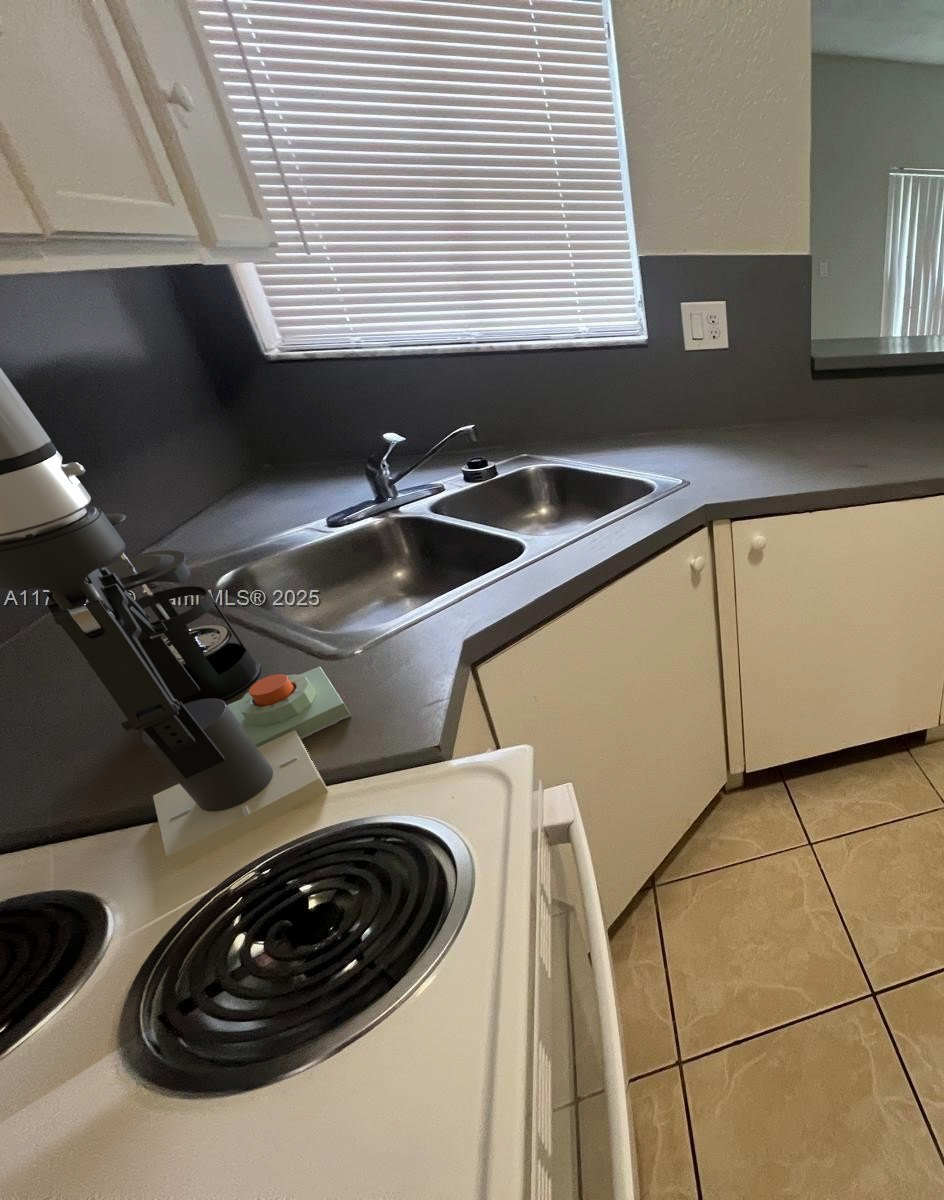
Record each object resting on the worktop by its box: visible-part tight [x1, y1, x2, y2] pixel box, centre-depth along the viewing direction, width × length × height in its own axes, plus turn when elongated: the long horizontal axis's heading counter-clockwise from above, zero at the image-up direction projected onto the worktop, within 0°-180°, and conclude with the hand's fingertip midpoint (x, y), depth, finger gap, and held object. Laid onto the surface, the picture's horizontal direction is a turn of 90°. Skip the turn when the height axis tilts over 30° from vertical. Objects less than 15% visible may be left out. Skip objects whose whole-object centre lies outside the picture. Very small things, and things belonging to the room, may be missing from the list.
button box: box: [226, 665, 351, 747], centre depth 72 cm, size 10×10×4 cm
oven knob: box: [141, 698, 273, 811], centre depth 60 cm, size 6×6×9 cm
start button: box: [248, 673, 295, 707], centre depth 71 cm, size 4×4×2 cm
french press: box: [104, 513, 262, 704], centre depth 72 cm, size 12×9×23 cm
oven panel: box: [152, 730, 329, 871], centre depth 63 cm, size 10×12×2 cm
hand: (193, 729), depth 58 cm, fingers open, 13 cm apart
